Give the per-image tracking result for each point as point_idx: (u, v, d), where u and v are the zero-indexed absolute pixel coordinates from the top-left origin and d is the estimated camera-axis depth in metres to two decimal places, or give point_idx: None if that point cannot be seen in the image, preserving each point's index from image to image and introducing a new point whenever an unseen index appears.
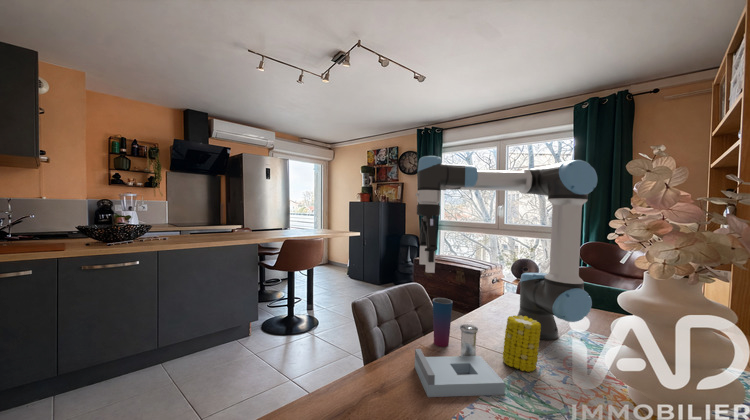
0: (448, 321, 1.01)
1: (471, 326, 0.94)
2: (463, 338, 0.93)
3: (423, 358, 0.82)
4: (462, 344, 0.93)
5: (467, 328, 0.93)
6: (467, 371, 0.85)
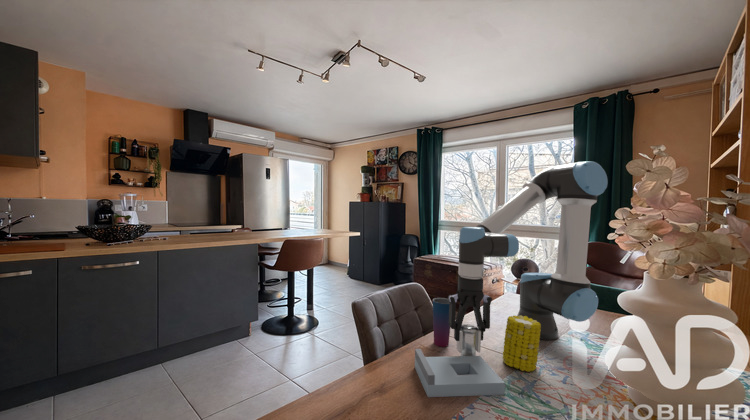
0: (448, 321, 1.01)
1: (471, 326, 0.94)
2: (463, 338, 0.93)
3: (423, 358, 0.82)
4: (462, 344, 0.93)
5: (467, 328, 0.93)
6: (467, 371, 0.85)
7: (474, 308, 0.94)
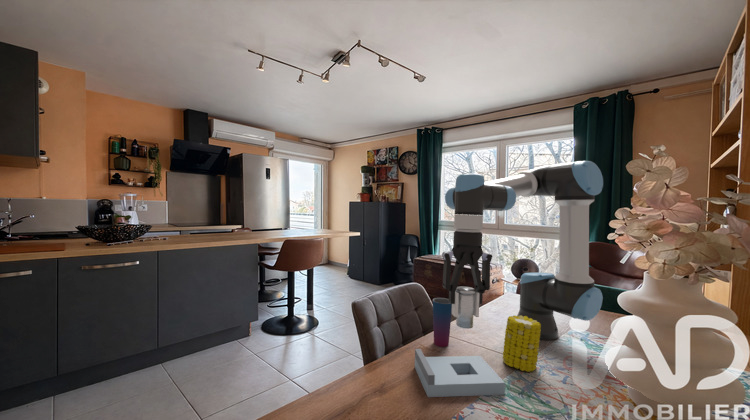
0: (448, 321, 1.01)
1: (468, 288, 0.83)
2: (459, 301, 0.81)
3: (423, 358, 0.82)
4: (458, 308, 0.81)
5: (464, 289, 0.81)
6: (467, 371, 0.85)
7: (472, 267, 0.82)
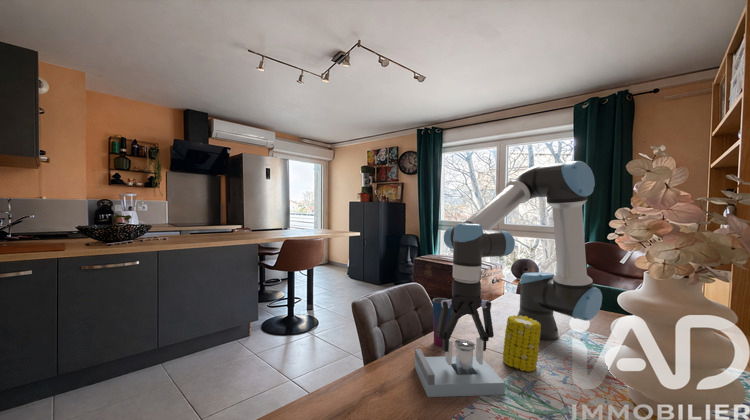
0: None
1: (467, 342, 0.83)
2: (458, 356, 0.81)
3: (423, 358, 0.82)
4: (457, 363, 0.81)
5: (462, 344, 0.81)
6: None
7: (472, 316, 0.82)
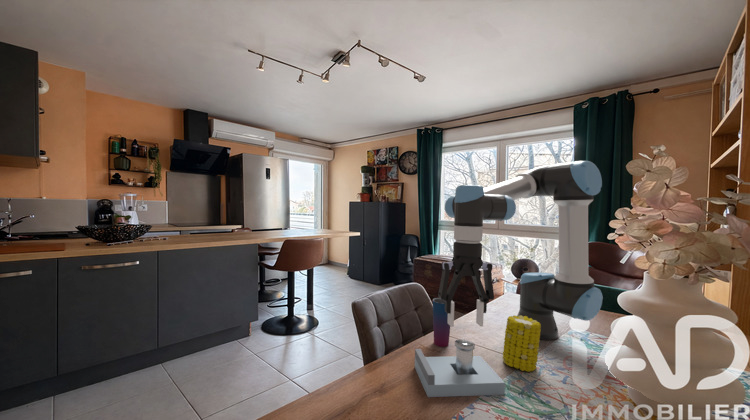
0: None
1: (467, 342, 0.83)
2: (458, 356, 0.81)
3: (423, 358, 0.82)
4: (457, 363, 0.81)
5: (462, 344, 0.81)
6: None
7: (473, 278, 0.82)
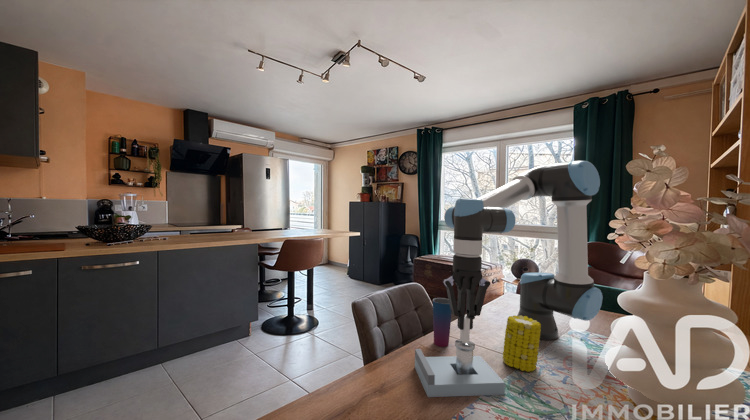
0: (448, 321, 1.01)
1: None
2: (458, 356, 0.81)
3: (423, 358, 0.82)
4: (457, 363, 0.81)
5: (463, 344, 0.81)
6: None
7: (468, 291, 0.82)
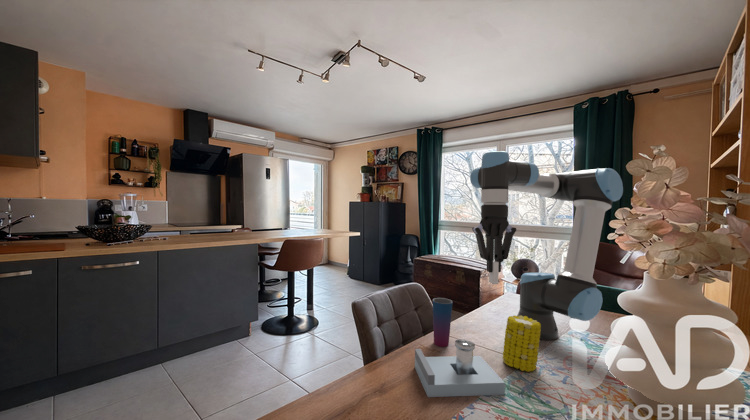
0: (448, 321, 1.01)
1: (467, 342, 0.83)
2: (458, 356, 0.81)
3: (423, 358, 0.82)
4: (457, 363, 0.81)
5: (463, 344, 0.81)
6: None
7: (496, 237, 0.89)
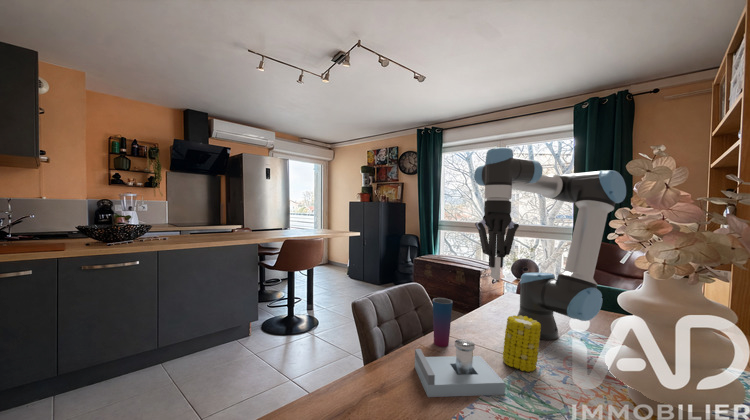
0: (448, 321, 1.01)
1: (467, 342, 0.83)
2: (458, 356, 0.81)
3: (423, 358, 0.82)
4: (457, 363, 0.81)
5: (462, 344, 0.81)
6: None
7: (498, 233, 0.90)
